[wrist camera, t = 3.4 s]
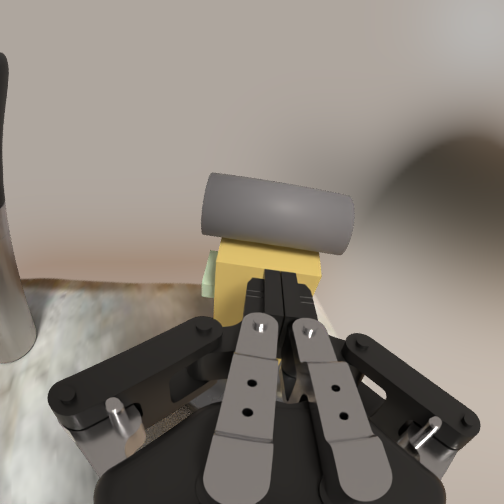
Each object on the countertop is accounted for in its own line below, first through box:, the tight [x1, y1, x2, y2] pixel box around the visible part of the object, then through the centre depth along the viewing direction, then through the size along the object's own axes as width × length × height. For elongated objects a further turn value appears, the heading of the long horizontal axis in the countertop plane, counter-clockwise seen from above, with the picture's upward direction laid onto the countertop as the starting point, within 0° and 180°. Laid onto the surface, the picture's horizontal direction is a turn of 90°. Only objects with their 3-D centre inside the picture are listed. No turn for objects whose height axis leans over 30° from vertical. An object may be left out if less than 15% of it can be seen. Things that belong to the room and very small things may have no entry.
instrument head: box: [201, 173, 354, 365], centre depth 23 cm, size 5×8×21 cm, turn 88°
